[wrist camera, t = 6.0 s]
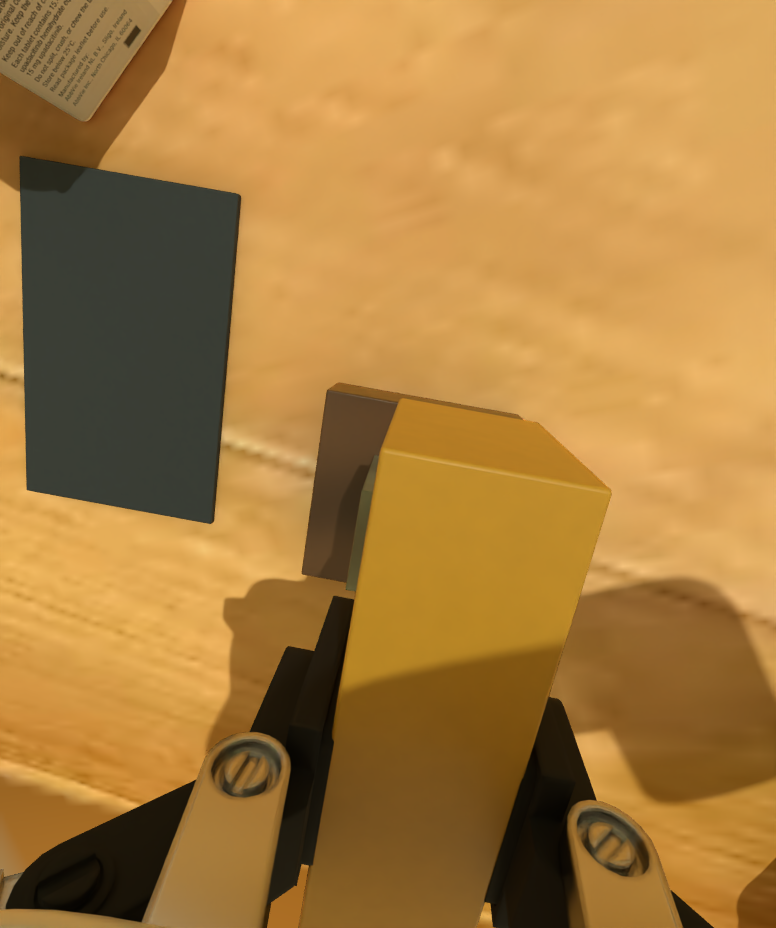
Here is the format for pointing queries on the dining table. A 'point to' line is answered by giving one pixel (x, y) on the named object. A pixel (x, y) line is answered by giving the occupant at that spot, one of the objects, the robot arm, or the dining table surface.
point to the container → (73, 46)
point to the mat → (125, 336)
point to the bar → (447, 663)
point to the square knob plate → (350, 477)
